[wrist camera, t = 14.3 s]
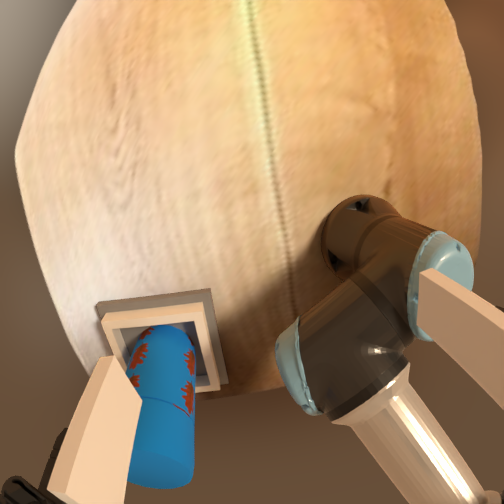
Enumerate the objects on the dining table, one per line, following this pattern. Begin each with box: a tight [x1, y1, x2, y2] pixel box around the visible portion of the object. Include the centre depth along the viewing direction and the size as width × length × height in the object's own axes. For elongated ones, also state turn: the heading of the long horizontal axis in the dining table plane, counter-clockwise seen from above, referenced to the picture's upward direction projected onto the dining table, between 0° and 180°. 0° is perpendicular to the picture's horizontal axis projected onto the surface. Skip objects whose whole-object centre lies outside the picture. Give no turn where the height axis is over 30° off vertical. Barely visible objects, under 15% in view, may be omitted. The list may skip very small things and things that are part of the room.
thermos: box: [125, 325, 196, 489], centre depth 35 cm, size 11×11×25 cm
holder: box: [96, 288, 229, 393], centre depth 46 cm, size 20×20×4 cm
